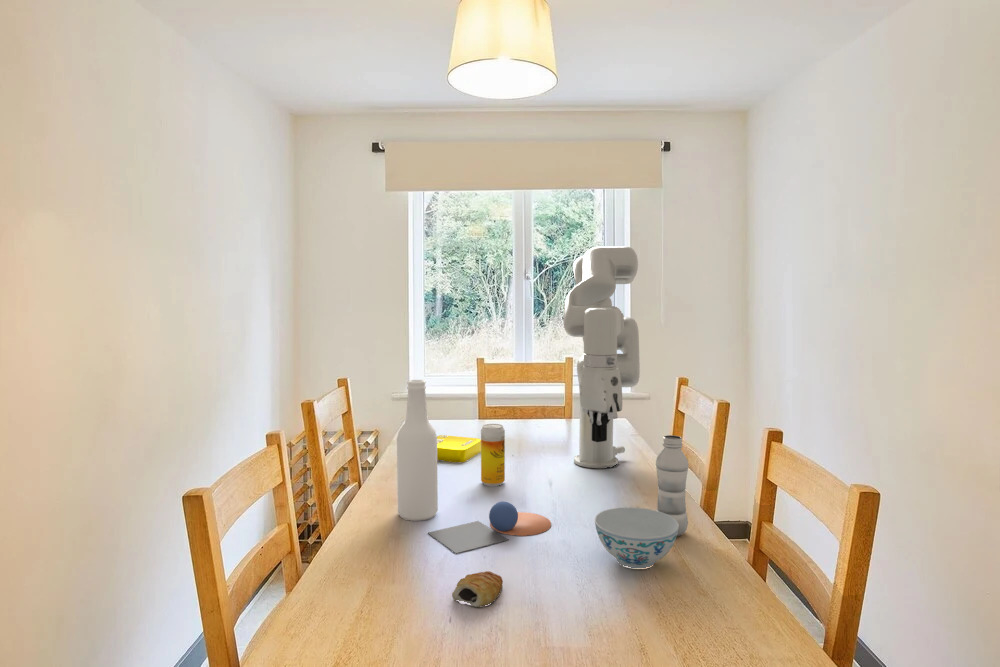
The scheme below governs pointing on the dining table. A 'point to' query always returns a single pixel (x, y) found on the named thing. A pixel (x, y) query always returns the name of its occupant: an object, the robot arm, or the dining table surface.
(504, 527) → the ball
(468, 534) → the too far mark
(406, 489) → the alcohol
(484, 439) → the beer can
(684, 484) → the plastic bottle
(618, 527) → the chinaware
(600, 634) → the dining table surface
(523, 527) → the orange disc
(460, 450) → the element tile
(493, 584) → the pastry
